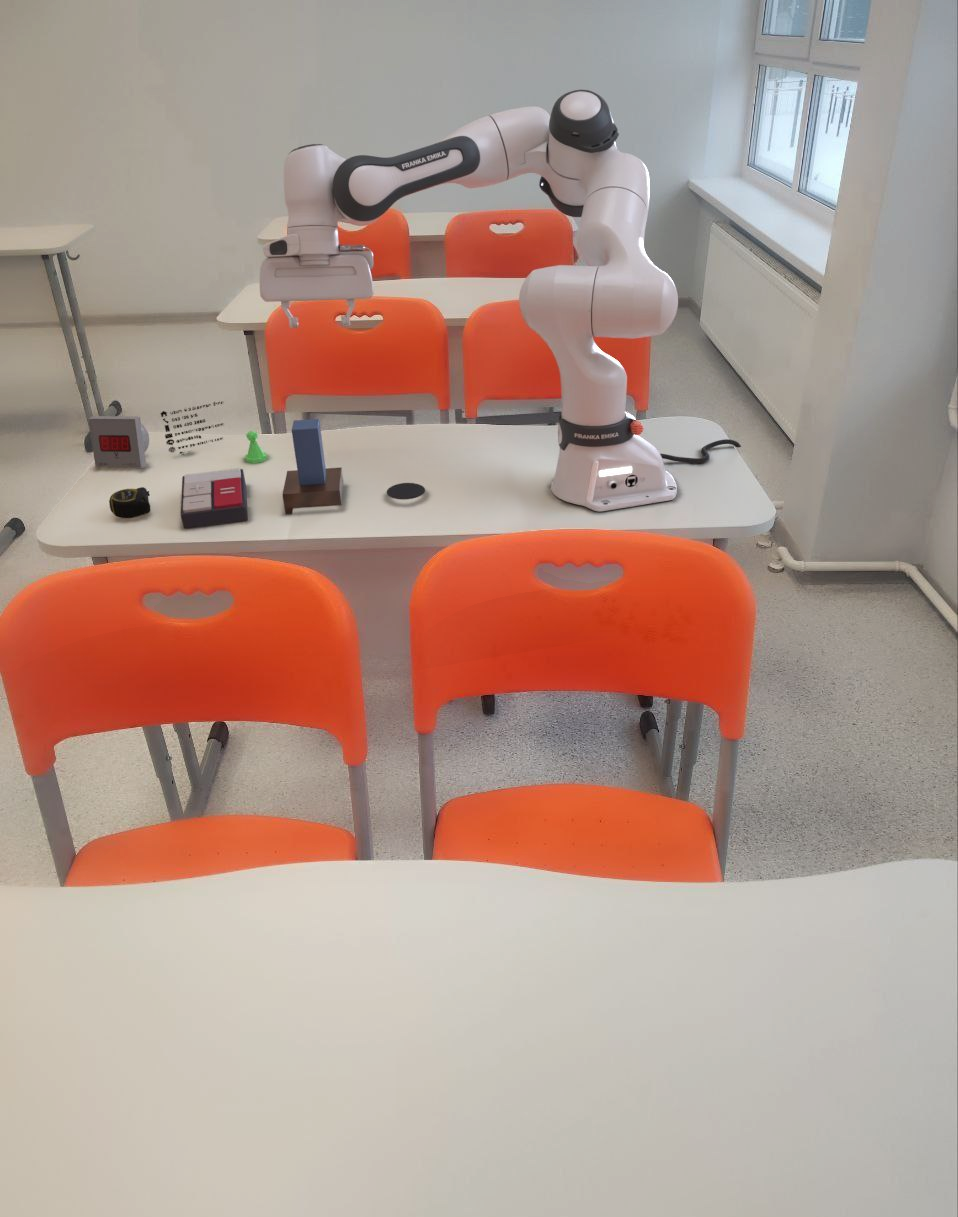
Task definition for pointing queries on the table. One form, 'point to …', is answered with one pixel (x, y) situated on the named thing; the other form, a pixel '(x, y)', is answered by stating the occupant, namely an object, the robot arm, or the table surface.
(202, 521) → the calculator
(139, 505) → the tape measure
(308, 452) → the block
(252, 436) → the game piece
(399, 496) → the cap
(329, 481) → the stand
